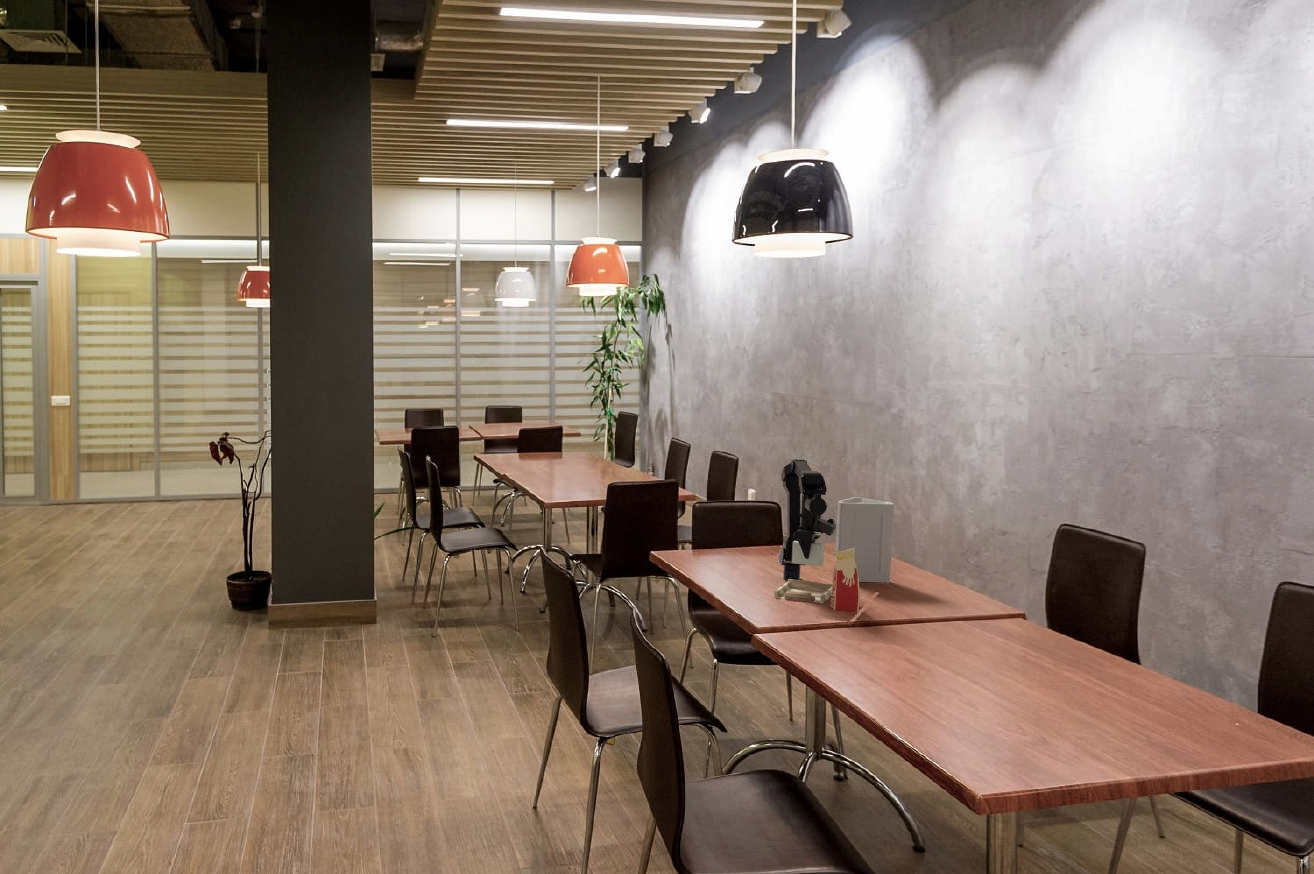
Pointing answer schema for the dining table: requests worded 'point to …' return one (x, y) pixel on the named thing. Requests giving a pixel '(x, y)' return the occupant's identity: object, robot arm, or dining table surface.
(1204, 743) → the dining table surface
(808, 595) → the offcut
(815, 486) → the robot arm
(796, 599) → the offcut
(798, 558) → the sheet
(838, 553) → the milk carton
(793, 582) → the rack
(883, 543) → the grey tall prism
